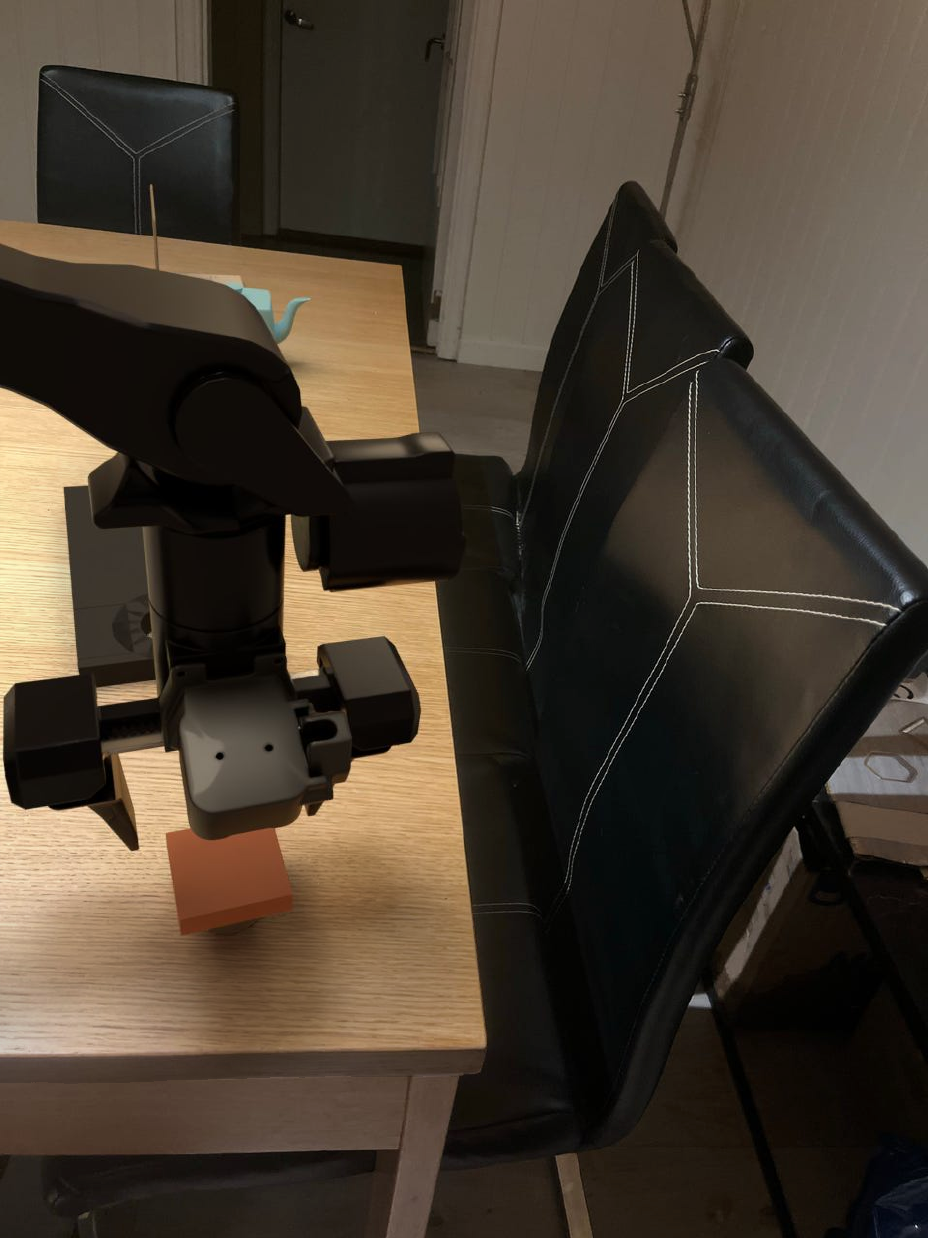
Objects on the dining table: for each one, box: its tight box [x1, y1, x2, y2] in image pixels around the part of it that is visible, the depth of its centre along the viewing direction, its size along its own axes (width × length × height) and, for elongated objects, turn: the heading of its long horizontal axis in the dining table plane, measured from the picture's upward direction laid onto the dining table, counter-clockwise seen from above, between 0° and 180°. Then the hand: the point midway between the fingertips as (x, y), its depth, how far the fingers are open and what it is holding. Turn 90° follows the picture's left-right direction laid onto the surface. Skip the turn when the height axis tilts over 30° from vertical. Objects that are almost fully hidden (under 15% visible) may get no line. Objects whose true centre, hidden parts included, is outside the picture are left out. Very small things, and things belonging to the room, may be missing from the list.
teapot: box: [225, 283, 311, 345], centre depth 112 cm, size 18×14×10 cm
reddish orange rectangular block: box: [165, 827, 294, 936], centre depth 52 cm, size 6×6×4 cm
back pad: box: [62, 484, 156, 688], centre depth 77 cm, size 26×14×2 cm, turn 21°
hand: (224, 826), depth 49 cm, fingers open, 9 cm apart
